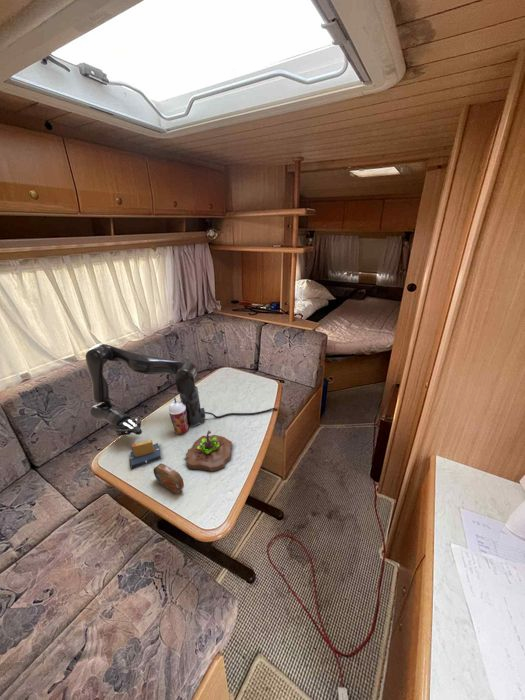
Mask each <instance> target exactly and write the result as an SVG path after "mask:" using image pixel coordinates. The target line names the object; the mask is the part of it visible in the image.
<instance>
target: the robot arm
mask: <svg viewBox="0 0 525 700" xmlns="http://www.w3.org/2000/svg"><path fill="white" fill-rule="evenodd" d="M84 358H85V362H86V363H85V364H86V365H87V369H88V373H89V377H90V381H91V390H92V391H91V392H92V400H93V402H94V403H96V404H93V405H92V406H90V408H89V411H88V413H89V415H90V417H91V418H92V419H94V420H97V421H102V422H106V423H108V424H109V425H110V426H111V427H113V428H115V429H116V430H115V433H116V436H117V437H119V436H120V437H121V436H130V435H131V434H134V435H136V436H140V435H141V434H143V430H142V428H141V427H142V419H141V416H138V417H137V418H135V417H131V416H130V415H128V414H127V413H125V412H123V411H121V410H118V409H116V408H114V406H113V403H112V401H111V399H110V395H109V394H110V393H109V390H110V389H109V383H108V381H107V379H106V378H105V376H104V365H105V364H106V363H108V362H115V363H120V364H122V365H124V366H125V367H127V369H129V370H131V371H133V372H135V373H139V374H144V375H159V374H172V375H174V381H175V382H174V383H175V386H176V390H177V393H178V394H179V398H180V402H182V403H183V404H184V405H185V406H186V414H187V422H188V428H189V427H190V428H193V427H194V428H195V427H197V426H199V425H200V424H203V419H206V415H211V416H213V417H214V418H216V419H221V418H224V417H227V416H232V415H234V416H235V415H237V416H244V415H245V416H250V415H251V416H252V415H259V414H262V413H268V412H270V411H272V410H275V411H278V409H277V408H276V407H271V408H269V409H266V410H261V411H256V412H230V413H225V414H223V415H220V416H219V415H216V414H214V413H213V412H209V411H206V410H205V407H202V406H201V402H200V401H201V400H200V395H199V394H200V393H199V388H198V386H196V383H195V378H196V377H197V374H198V367H197V366H196V365H195V364H193V363H192V362H189V361H188V362H187V361H182V360H181V361H180V360H172V359H167V358H163V357H158V356H154V355H149V354H146V353H139V352H135V351H130V350H126V349H122V348H119V347H115V346H114V345H109V344H107V343H98V344H95V345H94V346H93V347H91V348H90V349H88V350H87V351H86V353H85V357H84Z"/></svg>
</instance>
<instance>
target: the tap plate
mask: <svg viewBox="0 0 525 700" xmlns="http://www.w3.org/2000/svg"><path fill="white" fill-rule="evenodd" d="M153 446H154V453H150V454H146V455H142V456H139V457H135V454H134V451H133V450H131V451H129V456H130V458H129V459H130V467H131V469H132V470H133V469H136V468H139V467H142V466H145V465H148V464H151V463H153V462H156V461H159V460H162V457H161V451H160V446H159V442H157V443H153Z"/></svg>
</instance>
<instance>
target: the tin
mask: <svg viewBox="0 0 525 700" xmlns="http://www.w3.org/2000/svg"><path fill="white" fill-rule="evenodd" d="M153 474H154V477H155V479H156V481H157V482H158V483H159V484H161V485H162V486H164V487H165V488H167V489H168V490H169V491H171V492H173V493H175V494H178V493H180V491H182V489H183V488H184V487H185V484H184V483H185V482H184V479H183V476H182V475H181V474H180V473H179V472H178V471H176V470H175V469H173V468H171V467H169V466H168V465H166V464H164V463H159V464H158V465H157V466H155V467H154V468H153Z"/></svg>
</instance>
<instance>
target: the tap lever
mask: <svg viewBox="0 0 525 700" xmlns="http://www.w3.org/2000/svg"><path fill="white" fill-rule="evenodd" d="M153 444H154V442H153V439H148V440H146V441H140V442H137V443H132V445H131V446H132V451H134V454H135V457H139V456H142V455H146V454H150V453H154V446H153Z"/></svg>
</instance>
